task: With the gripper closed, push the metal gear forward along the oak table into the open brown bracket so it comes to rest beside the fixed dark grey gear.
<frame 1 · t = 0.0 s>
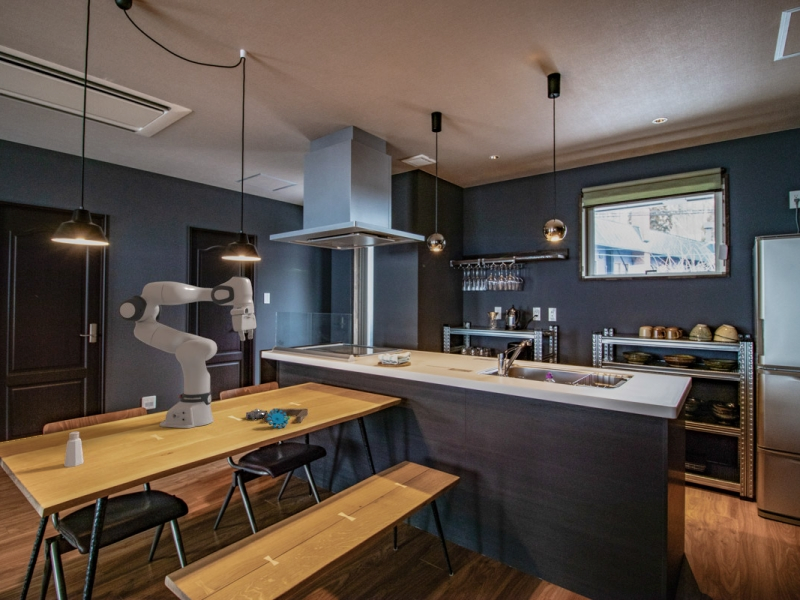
hand: (246, 339, 197), 39 cm above the table, tool pointing down, fingers open, 8 cm apart
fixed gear: (256, 417, 206), on the table
brown bracket: (286, 418, 204), on the table
gear: (278, 427, 191), on the table
pepper shaker: (74, 464, 146), on the table
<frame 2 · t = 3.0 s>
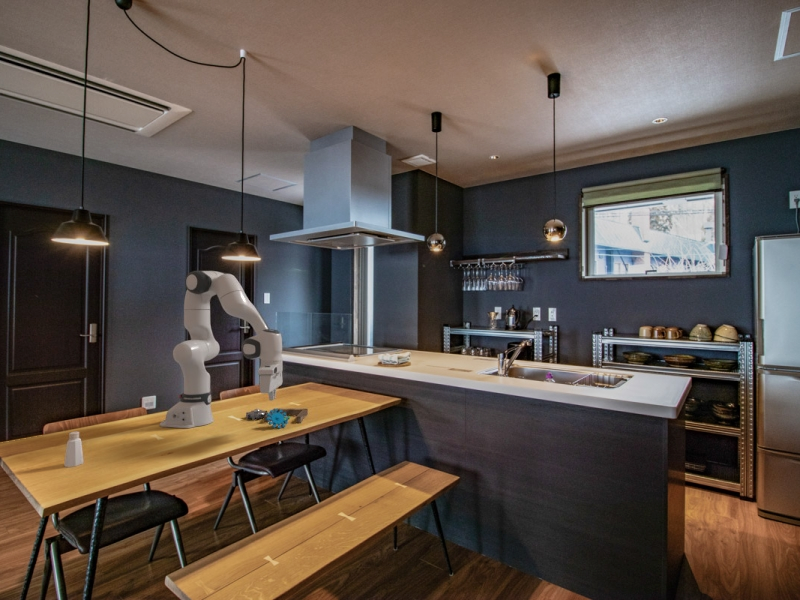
hand: (272, 399, 180), 15 cm above the table, tool pointing down, fingers closed
nothing on the table moved.
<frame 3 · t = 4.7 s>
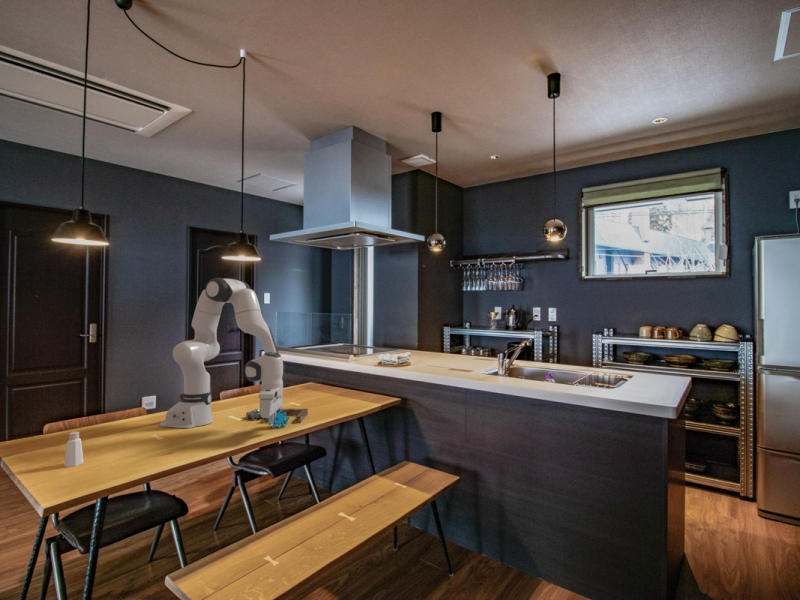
hand: (272, 422, 181), 5 cm above the table, tool pointing down, fingers closed
nothing on the table moved.
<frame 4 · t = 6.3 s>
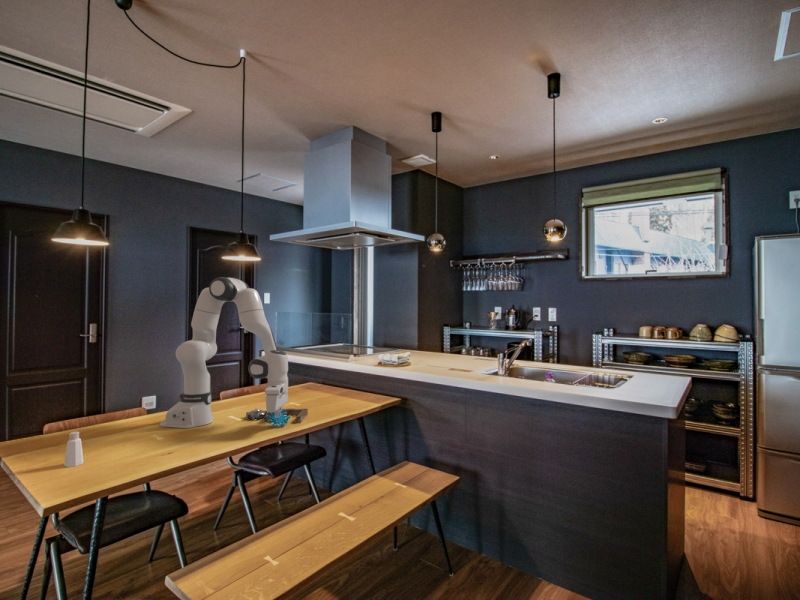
hand: (277, 417, 190), 5 cm above the table, tool pointing down, fingers closed
gear: (278, 426, 193), on the table, touching gripper
everything else where it was.
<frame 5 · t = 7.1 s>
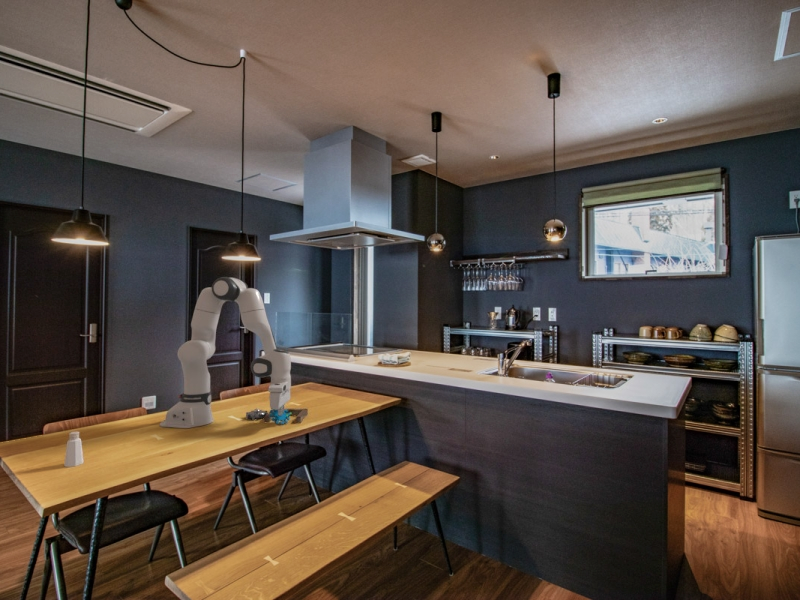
hand: (281, 414, 194), 5 cm above the table, tool pointing down, fingers closed
gear: (280, 423, 197), on the table, touching gripper
everything else where it was.
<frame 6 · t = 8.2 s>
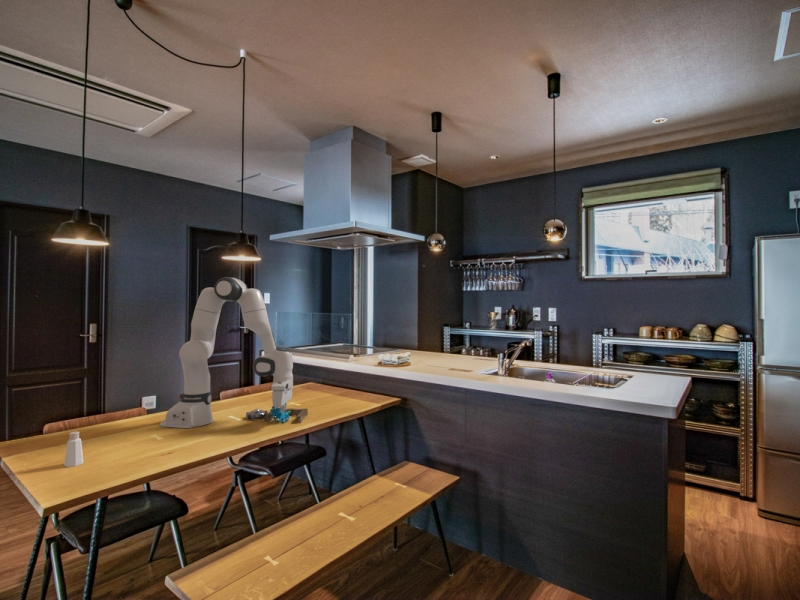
hand: (283, 412, 198), 5 cm above the table, tool pointing down, fingers closed
gear: (280, 421, 200), on the table, touching gripper
everything else where it was.
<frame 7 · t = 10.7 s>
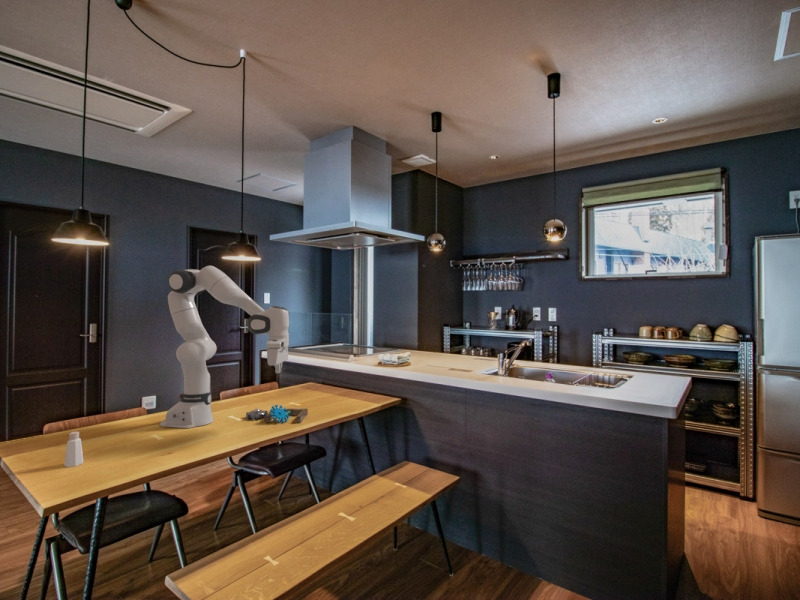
hand: (278, 372, 190), 25 cm above the table, tool pointing down, fingers closed
gear: (280, 421, 200), on the table
everything else where it was.
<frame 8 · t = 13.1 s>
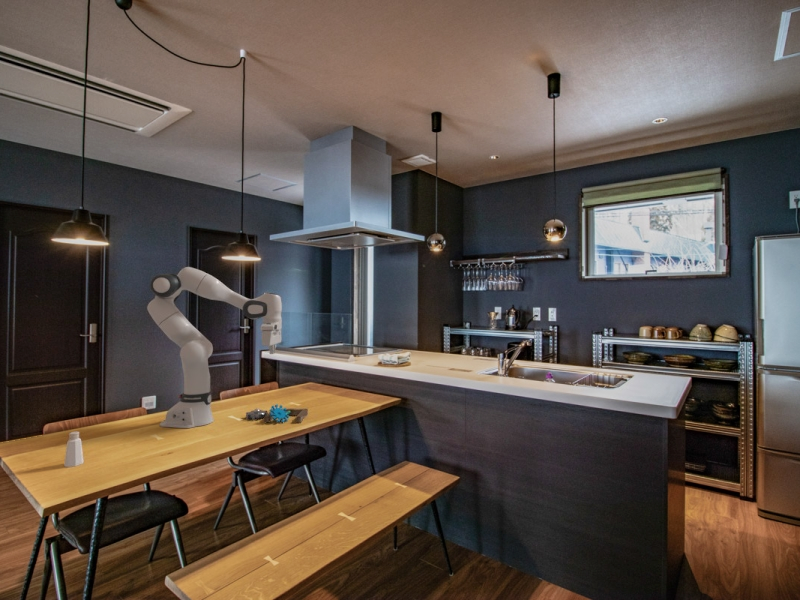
hand: (272, 353, 207), 31 cm above the table, tool pointing down, fingers closed
nothing on the table moved.
at the end: gear inside the target area on the brown bracket (4.1 cm from its centre), point 0.0 cm above the brown bracket's base; gear tilted 0°; gear moved 9.3 cm from its start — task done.
